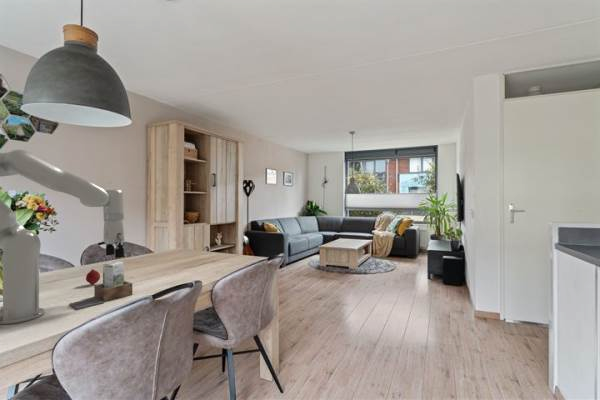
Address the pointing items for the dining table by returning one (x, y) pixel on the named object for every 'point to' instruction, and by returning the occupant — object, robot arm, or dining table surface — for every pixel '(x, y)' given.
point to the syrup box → (113, 274)
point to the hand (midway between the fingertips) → (114, 256)
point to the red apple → (93, 277)
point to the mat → (86, 303)
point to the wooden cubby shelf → (112, 291)
